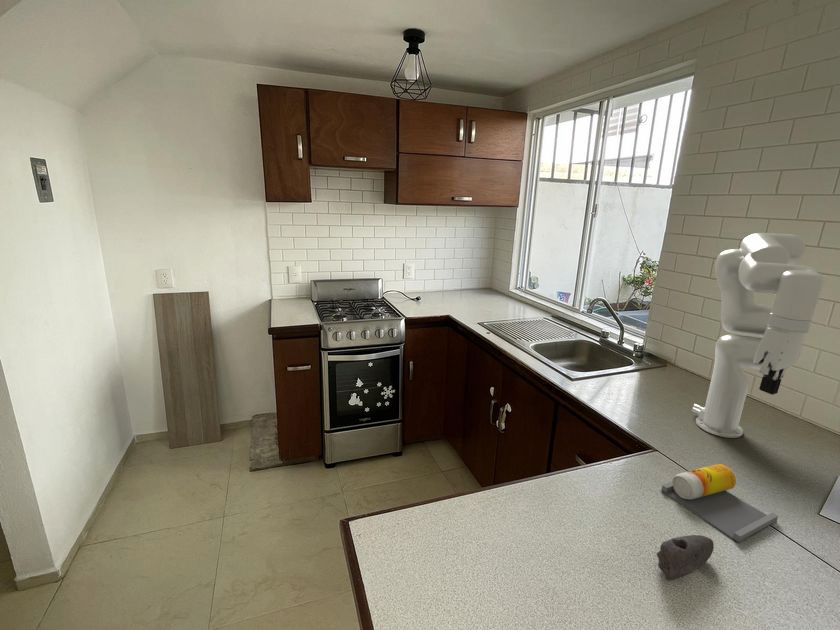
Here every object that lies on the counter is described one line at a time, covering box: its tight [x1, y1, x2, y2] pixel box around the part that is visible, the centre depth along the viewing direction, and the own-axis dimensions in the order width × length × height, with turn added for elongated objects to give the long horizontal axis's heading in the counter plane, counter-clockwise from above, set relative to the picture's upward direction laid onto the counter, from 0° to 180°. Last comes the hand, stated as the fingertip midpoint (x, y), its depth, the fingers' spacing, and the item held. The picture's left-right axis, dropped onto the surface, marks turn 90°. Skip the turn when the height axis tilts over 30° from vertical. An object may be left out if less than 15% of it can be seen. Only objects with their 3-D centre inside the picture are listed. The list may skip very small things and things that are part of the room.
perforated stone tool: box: [656, 534, 715, 581], centre depth 83 cm, size 15×5×7 cm, turn 111°
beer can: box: [671, 463, 737, 500], centre depth 105 cm, size 6×6×15 cm
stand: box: [660, 481, 779, 544], centre depth 101 cm, size 18×15×2 cm
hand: (767, 391), depth 105 cm, fingers closed
